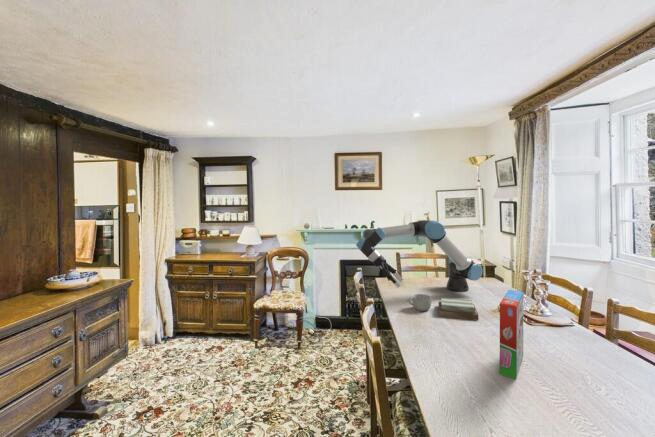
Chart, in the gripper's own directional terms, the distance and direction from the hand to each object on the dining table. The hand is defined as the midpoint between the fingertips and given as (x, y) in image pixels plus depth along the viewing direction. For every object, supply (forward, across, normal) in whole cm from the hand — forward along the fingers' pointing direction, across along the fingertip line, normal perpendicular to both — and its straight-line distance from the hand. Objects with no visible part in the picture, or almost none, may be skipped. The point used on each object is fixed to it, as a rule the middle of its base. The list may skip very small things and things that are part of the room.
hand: (400, 283), depth 182 cm
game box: (+45, +54, +23) cm, 74 cm away
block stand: (+33, 0, +12) cm, 35 cm away
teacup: (+18, 0, -3) cm, 19 cm away
